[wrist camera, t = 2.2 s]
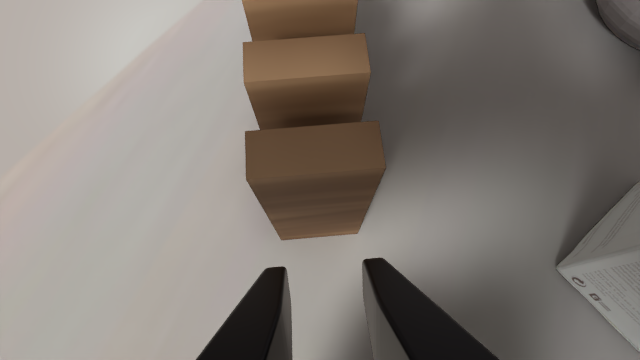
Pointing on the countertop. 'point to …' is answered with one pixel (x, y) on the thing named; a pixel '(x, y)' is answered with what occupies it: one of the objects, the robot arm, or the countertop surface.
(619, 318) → the skincare box
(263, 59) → the domino
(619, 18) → the coffee pot
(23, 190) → the countertop surface
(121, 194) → the countertop surface
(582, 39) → the countertop surface
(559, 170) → the countertop surface
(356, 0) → the domino
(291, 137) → the domino
